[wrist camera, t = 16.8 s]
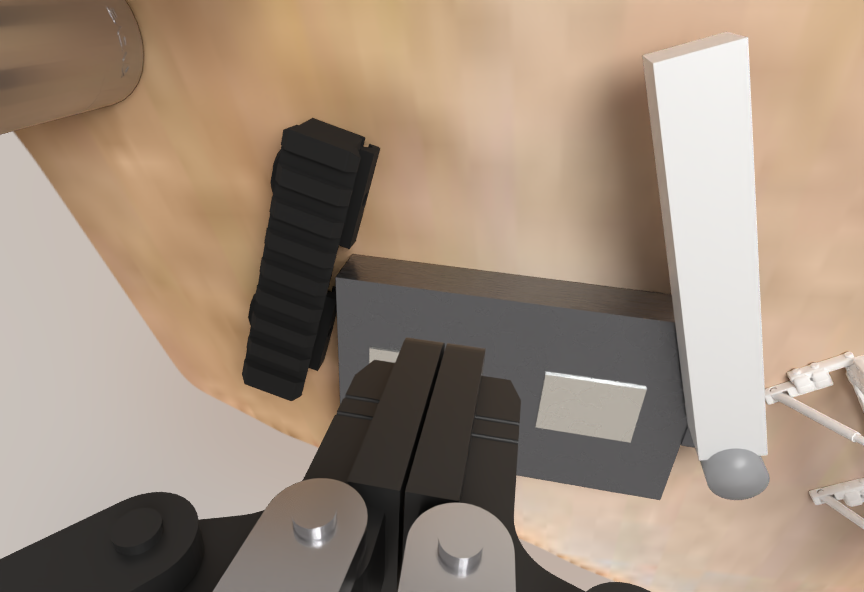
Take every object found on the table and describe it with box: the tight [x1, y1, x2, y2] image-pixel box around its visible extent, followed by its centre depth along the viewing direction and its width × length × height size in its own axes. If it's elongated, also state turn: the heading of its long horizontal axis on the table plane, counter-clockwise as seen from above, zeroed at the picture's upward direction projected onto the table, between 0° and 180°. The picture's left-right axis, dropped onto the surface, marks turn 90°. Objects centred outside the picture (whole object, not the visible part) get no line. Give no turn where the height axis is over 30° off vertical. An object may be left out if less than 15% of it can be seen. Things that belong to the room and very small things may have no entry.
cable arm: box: [642, 32, 769, 500], centre depth 32 cm, size 28×4×4 cm, turn 17°
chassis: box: [336, 254, 695, 500], centre depth 43 cm, size 30×16×4 cm, turn 87°
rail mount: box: [242, 118, 380, 401], centre depth 42 cm, size 21×6×5 cm, turn 162°
